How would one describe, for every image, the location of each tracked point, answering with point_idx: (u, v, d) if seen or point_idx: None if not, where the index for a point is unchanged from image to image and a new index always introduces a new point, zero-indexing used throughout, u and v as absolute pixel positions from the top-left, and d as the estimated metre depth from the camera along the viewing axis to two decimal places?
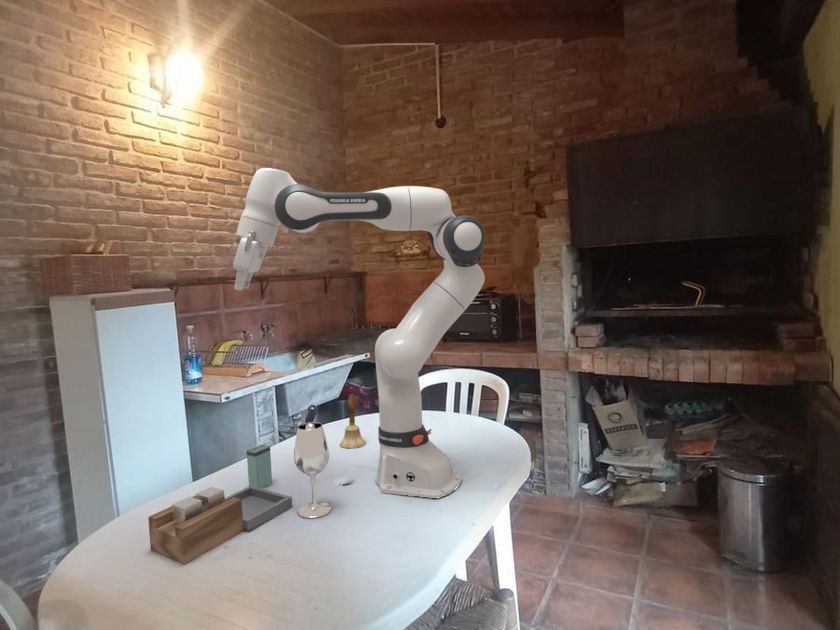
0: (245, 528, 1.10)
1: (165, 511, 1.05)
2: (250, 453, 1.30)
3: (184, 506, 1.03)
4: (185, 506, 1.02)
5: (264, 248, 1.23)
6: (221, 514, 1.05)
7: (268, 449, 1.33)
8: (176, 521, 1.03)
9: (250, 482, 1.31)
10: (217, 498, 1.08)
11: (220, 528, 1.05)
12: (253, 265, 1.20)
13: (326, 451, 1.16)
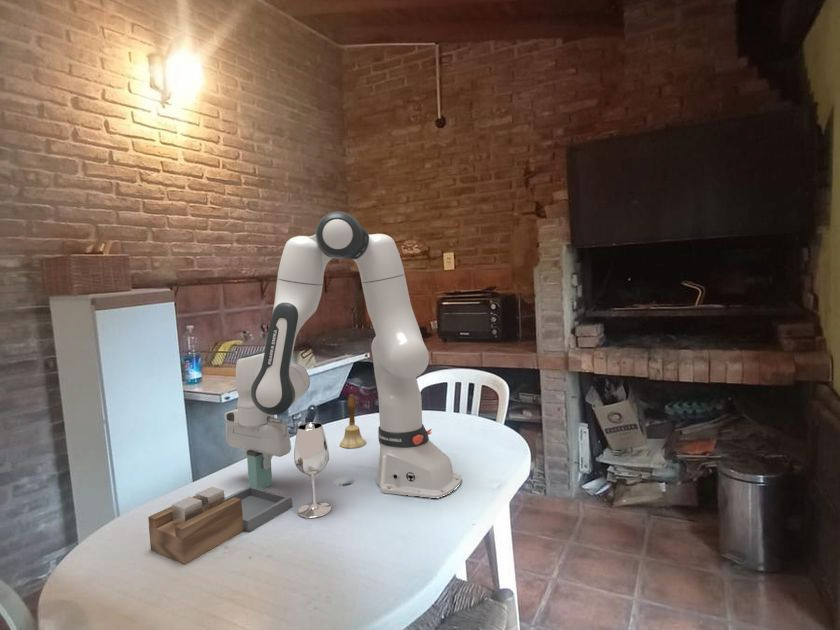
0: (245, 528, 1.10)
1: (165, 511, 1.05)
2: (250, 453, 1.30)
3: (184, 506, 1.03)
4: (185, 506, 1.02)
5: None
6: (221, 514, 1.05)
7: None
8: (176, 521, 1.03)
9: (250, 482, 1.31)
10: (217, 498, 1.08)
11: (220, 528, 1.05)
12: None
13: (326, 451, 1.16)
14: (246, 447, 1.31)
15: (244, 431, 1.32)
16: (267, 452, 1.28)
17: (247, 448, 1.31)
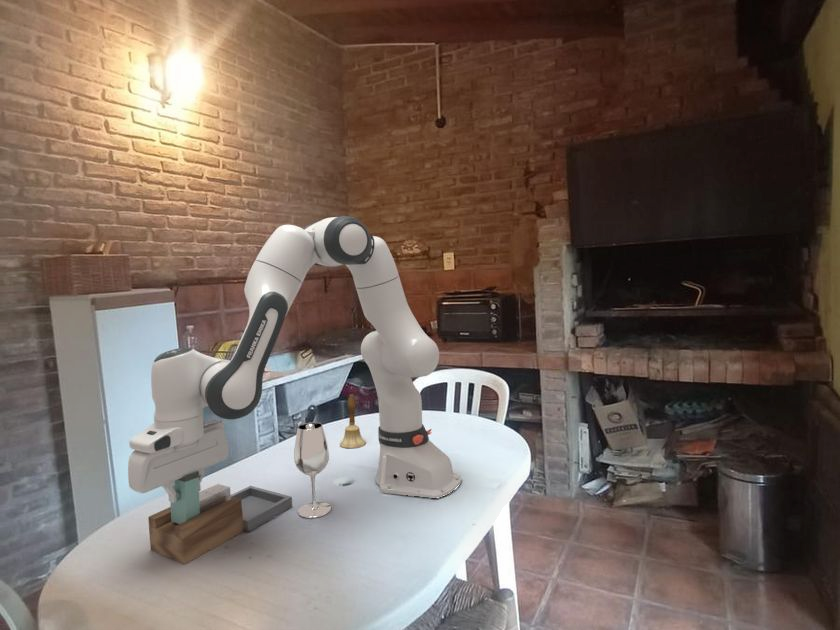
0: (245, 528, 1.10)
1: (165, 511, 1.05)
2: (191, 477, 1.02)
3: None
4: None
5: None
6: (221, 514, 1.05)
7: None
8: None
9: (189, 516, 1.02)
10: (223, 495, 1.10)
11: (220, 528, 1.05)
12: None
13: (326, 451, 1.16)
14: (178, 476, 1.00)
15: (172, 457, 1.00)
16: (211, 463, 1.07)
17: (179, 476, 1.01)
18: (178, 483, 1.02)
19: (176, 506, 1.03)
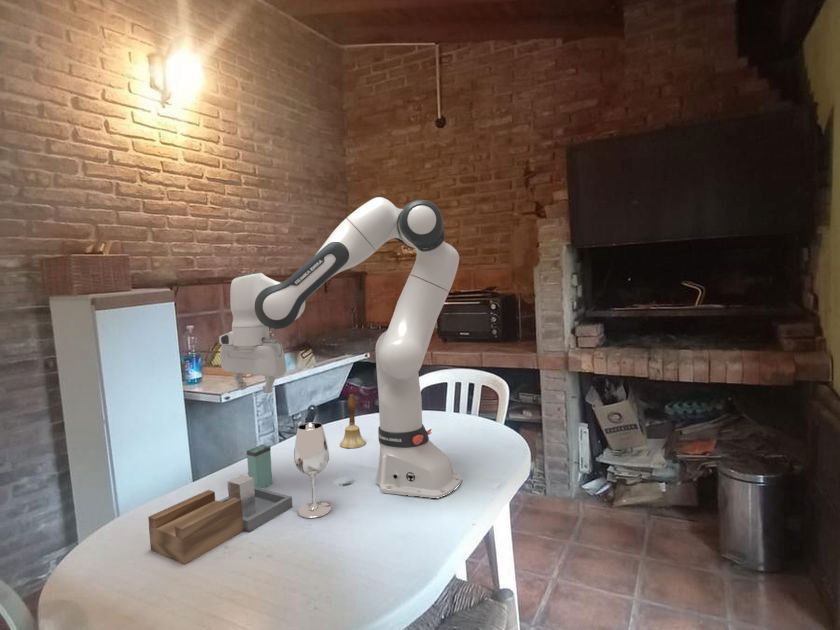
0: (245, 528, 1.10)
1: (165, 511, 1.05)
2: (250, 453, 1.30)
3: (239, 482, 1.14)
4: (240, 482, 1.14)
5: None
6: (221, 514, 1.05)
7: (268, 449, 1.33)
8: (232, 496, 1.15)
9: None
10: (251, 505, 1.16)
11: (220, 528, 1.05)
12: None
13: (326, 451, 1.16)
14: (241, 370, 1.30)
15: (239, 354, 1.30)
16: (262, 373, 1.26)
17: (242, 371, 1.29)
18: None
19: None
